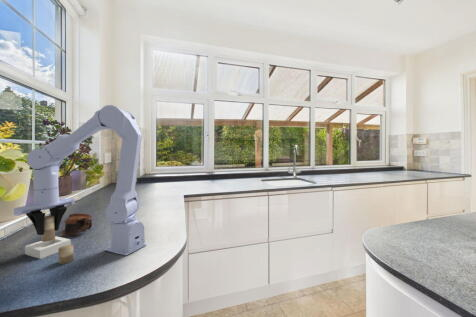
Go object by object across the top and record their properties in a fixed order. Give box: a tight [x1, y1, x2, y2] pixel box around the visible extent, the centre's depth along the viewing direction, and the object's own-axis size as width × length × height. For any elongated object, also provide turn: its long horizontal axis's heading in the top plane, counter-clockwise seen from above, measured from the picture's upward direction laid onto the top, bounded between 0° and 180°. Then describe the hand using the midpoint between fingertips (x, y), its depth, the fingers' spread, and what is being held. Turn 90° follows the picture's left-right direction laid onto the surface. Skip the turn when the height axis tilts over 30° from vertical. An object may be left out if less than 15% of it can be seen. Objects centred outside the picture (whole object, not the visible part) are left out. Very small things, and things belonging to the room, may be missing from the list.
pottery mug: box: [61, 213, 93, 237], centre depth 82 cm, size 12×9×8 cm
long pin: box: [40, 215, 56, 242], centre depth 66 cm, size 3×3×7 cm
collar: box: [24, 235, 72, 260], centre depth 66 cm, size 8×8×2 cm
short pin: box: [58, 244, 75, 265], centre depth 59 cm, size 3×3×4 cm
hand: (48, 232), depth 66 cm, fingers closed on long pin, 3 cm apart
